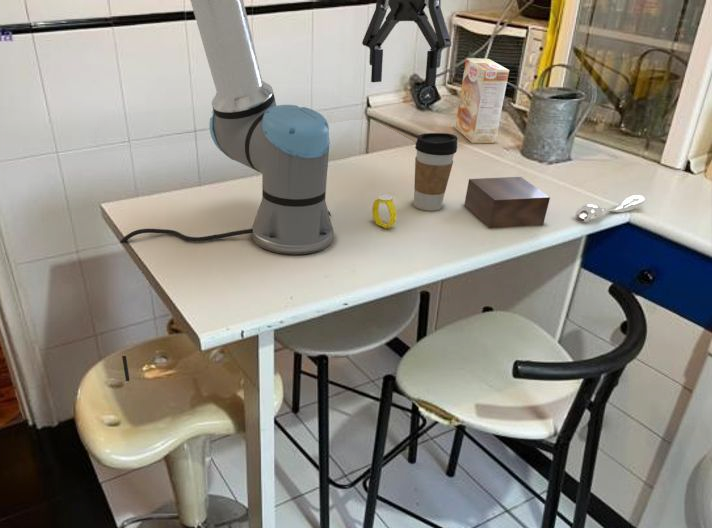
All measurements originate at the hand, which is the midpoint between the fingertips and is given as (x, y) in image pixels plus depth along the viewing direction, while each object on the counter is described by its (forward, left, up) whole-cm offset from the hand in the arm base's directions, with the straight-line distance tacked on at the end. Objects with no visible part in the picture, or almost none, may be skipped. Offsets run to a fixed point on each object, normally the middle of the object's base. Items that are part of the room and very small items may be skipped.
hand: (402, 83), depth 137 cm
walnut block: (+19, -19, -23) cm, 35 cm away
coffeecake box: (+38, +36, -23) cm, 57 cm away
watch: (-8, -21, -23) cm, 32 cm away
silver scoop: (+42, -20, -23) cm, 52 cm away
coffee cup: (+5, -12, -23) cm, 26 cm away
